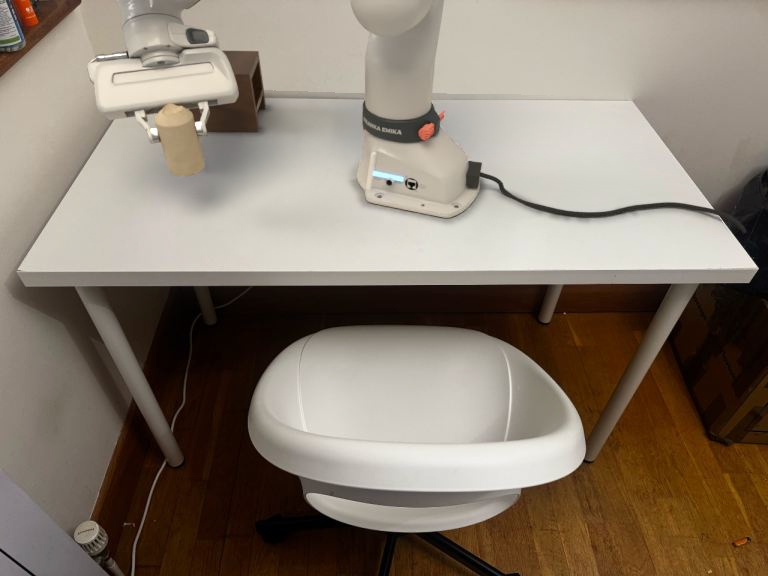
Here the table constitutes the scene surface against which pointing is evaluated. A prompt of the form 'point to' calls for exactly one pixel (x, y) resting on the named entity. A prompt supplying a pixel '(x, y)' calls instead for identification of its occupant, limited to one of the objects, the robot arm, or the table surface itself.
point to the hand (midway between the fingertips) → (179, 138)
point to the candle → (179, 140)
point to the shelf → (239, 97)
